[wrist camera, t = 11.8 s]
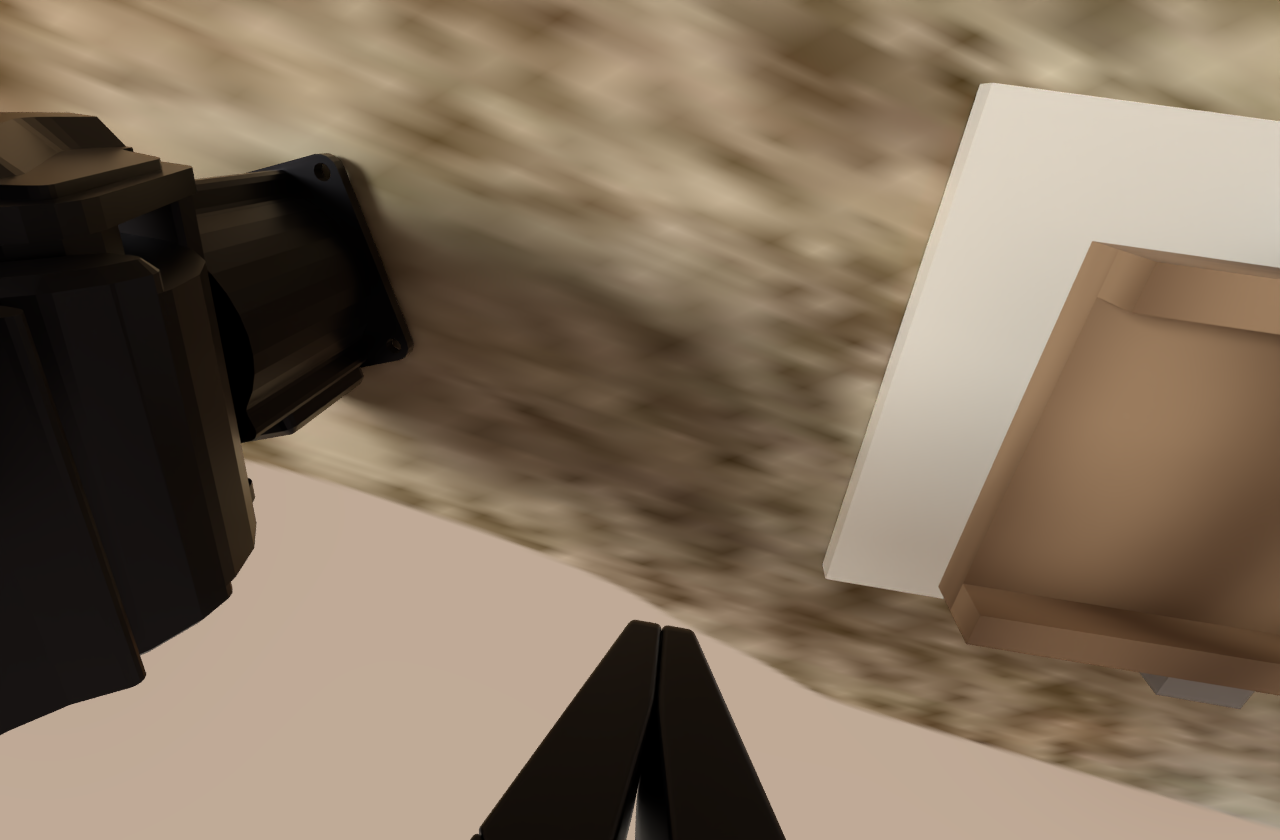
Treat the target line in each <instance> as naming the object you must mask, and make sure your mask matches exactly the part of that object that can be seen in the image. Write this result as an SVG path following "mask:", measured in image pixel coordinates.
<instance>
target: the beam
mask: <svg viewBox="0 0 1280 840" xmlns="http://www.w3.org/2000/svg"><path fill="white" fill-rule="evenodd" d="M938 587H939V589H940V591H941V593H942V595H943V598H944V600H945V602H946V604H947V606H948V608H949V610H950V612H951V614H952V616H953V618H954V620H955V622H956V624H957V626H958V628H959V630H960V632H961V634H962V636H963V638H964V640H965V642H966V644H970V645H976V646H982V647H988V648H995V649H1001V650H1007V651H1013V652H1019V653H1025V654H1031V655H1037V656H1043V657H1049V658H1055V659H1061V660H1068V661H1074V662H1080V663H1086V664H1092V665H1098V666H1104V667H1110V668H1116V669H1122V670H1128V671H1134V672H1141V673H1147V674H1153V675H1159V676H1165V677H1171V678H1177V679H1183V680H1189V681H1195V682H1201V683H1207V684H1214V685H1220V686H1226V687H1232V688H1238V689H1244V690H1250V691H1256V692H1262V693H1268V694H1274V695H1280V268H1278V267H1271V266H1264V265H1257V264H1250V263H1243V262H1236V261H1229V260H1222V259H1215V258H1208V257H1201V256H1194V255H1187V254H1180V253H1173V252H1166V251H1159V250H1152V249H1145V248H1138V247H1131V246H1124V245H1117V244H1110V243H1103V242H1096V241H1092V243H1091V245H1090V247H1089V249H1088V252H1087V254H1086V256H1085V258H1084V261H1083V263H1082V265H1081V267H1080V270H1079V272H1078V274H1077V276H1076V279H1075V281H1074V283H1073V285H1072V287H1071V290H1070V292H1069V294H1068V296H1067V299H1066V301H1065V303H1064V305H1063V308H1062V310H1061V312H1060V314H1059V317H1058V319H1057V321H1056V323H1055V326H1054V328H1053V330H1052V332H1051V335H1050V337H1049V339H1048V341H1047V344H1046V346H1045V348H1044V350H1043V353H1042V355H1041V357H1040V359H1039V362H1038V364H1037V366H1036V368H1035V371H1034V373H1033V375H1032V377H1031V379H1030V382H1029V384H1028V386H1027V388H1026V391H1025V393H1024V395H1023V397H1022V400H1021V402H1020V404H1019V406H1018V409H1017V411H1016V413H1015V415H1014V418H1013V420H1012V422H1011V424H1010V427H1009V429H1008V431H1007V433H1006V436H1005V438H1004V440H1003V442H1002V445H1001V447H1000V449H999V451H998V454H997V456H996V458H995V460H994V462H993V465H992V467H991V469H990V471H989V474H988V476H987V478H986V480H985V483H984V485H983V487H982V489H981V492H980V494H979V496H978V498H977V501H976V503H975V505H974V507H973V510H972V512H971V514H970V516H969V519H968V521H967V523H966V525H965V528H964V530H963V532H962V534H961V537H960V539H959V541H958V543H957V546H956V548H955V550H954V552H953V554H952V557H951V559H950V561H949V563H948V566H947V568H946V570H945V572H944V575H943V577H942V579H941V581H940V584H939V586H938Z"/></svg>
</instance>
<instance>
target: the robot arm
mask: <svg viewBox="0 0 1280 840" xmlns="http://www.w3.org/2000/svg"><path fill="white" fill-rule="evenodd" d="M323 164H325V165H327V167H328V168H329V170H330V174H331V176H330V179H329V180H328V179H327V178H325V176H324V175H323V173H322V169H321V168H322V165H323ZM392 339H395V340H397V341H398V342H399V343H400V344H401V349H397V348H396V347H394V345H393V344H392ZM412 350H413V340H412V337H411V334H410V332H409V329H408V327H407V324H406V322H405V319H404V317H403V314H402V312H401V309H400V307H399V304H398V302H397V299H396V297H395V294H394V292H393V289H392V287H391V284H390V281H389V279H388V276H387V274H386V271H385V269H384V266H383V264H382V261H381V259H380V256H379V254H378V251H377V249H376V246H375V244H374V241H373V239H372V236H371V233H370V231H369V228H368V226H367V223H366V221H365V218H364V216H363V213H362V211H361V208H360V206H359V203H358V201H357V198H356V196H355V193H354V191H353V188H352V185H351V183H350V180H349V178H348V175H347V173H346V170H345V168H344V166H343V164H342V163H341V161H340V160H339V159H338V158H337V157H336V156H334V155H332V154H329V153H324V154H314V155H310V156H307V157H303V158H299V159H296V160H292V161H288V162H285V163H281V164H277V165H274V166H270V167H266V168H263V169H259V170H255V171H252V172H248V173H244V174H236V175H227V176H219V177H210V178H202V179H194V174H193V168H192V167H191V166H188V165H181V164H174V163H168V162H161V160H160V158H159V157H155V156H150V155H145V154H140V153H136V152H133V148H132V147H126V146H125V145H124V144H123V143H122V142H121V141H120V140H119V139H118V138H117V137H116V136H115V135H114V134H113V133H112V132H111V131H110V130H109V129H108V128H107V127H106V126H105V125H104V124H103V123H102V122H101V121H100V120H99V119H98V118H97V117H95V116H88V115H82V114H75V113H43V112H0V735H1V734H3V733H5V732H7V731H9V730H12V729H14V728H16V727H18V726H21V725H23V724H26V723H28V722H30V721H33V720H35V719H38V718H40V717H42V716H45V715H47V714H49V713H52V712H54V711H56V710H59V709H61V708H64V707H66V706H68V705H71V704H74V703H78V702H81V701H85V700H89V699H92V698H96V697H99V696H103V695H106V694H110V693H113V692H117V691H120V690H124V689H127V688H131V687H133V686H136V685H137V684H139V683H141V682H142V681H143V680H144V678H145V676H146V672H145V669H144V666H143V663H142V660H141V657H140V655H142V654H145V653H147V652H149V651H151V650H153V649H154V648H156V647H158V646H160V645H161V644H163V643H165V642H166V641H168V640H170V639H172V638H173V637H175V636H177V635H178V634H180V633H182V632H183V631H185V630H187V629H189V628H190V627H192V626H194V625H195V624H197V623H199V622H200V621H201V620H203V619H204V618H205V617H206V616H208V615H209V614H210V613H211V612H212V611H214V610H215V609H216V608H217V607H218V606H220V605H221V604H222V603H223V602H225V601H226V600H227V599H228V598H229V597H230V595H231V594H232V584H231V581H232V580H233V579H234V578H235V577H236V575H237V574H238V572H239V571H240V569H241V568H242V566H243V564H244V563H245V561H246V560H247V558H248V556H249V555H250V554H251V552H252V550H253V549H254V544H255V533H256V519H255V514H254V508H253V501H254V499H255V494H254V489H253V484H252V480H251V479H249V478H248V477H247V472H246V467H245V462H244V457H243V452H242V446H241V443H244V442H249V441H255V440H261V439H267V438H273V437H278V436H284V435H290V434H293V433H295V432H296V431H298V430H299V429H300V428H302V427H303V426H304V425H306V424H307V423H308V422H310V421H311V420H312V419H314V418H315V417H316V416H318V415H319V414H320V413H322V412H323V411H324V410H326V409H327V408H328V407H330V406H331V405H332V404H334V403H335V402H336V401H338V400H339V399H340V398H342V397H343V396H344V395H346V394H347V393H348V392H350V391H351V390H352V389H354V388H355V387H356V386H358V385H359V384H360V383H361V381H362V379H363V377H364V375H363V373H362V371H361V368H360V367H366V366H371V365H376V364H381V363H386V362H391V361H397V360H400V359H403V358H405V357H406V356H407V355H409V354H410V352H411V351H412ZM637 789H638V793H637ZM636 794H637V804H636V805H637V806H636V828H635V831H636V832H635V840H786V839H785V836H784V834H783V832H782V830H781V827H780V825H779V823H778V821H777V818H776V816H775V814H774V812H773V809H772V807H771V805H770V803H769V800H768V798H767V796H766V793H765V791H764V789H763V787H762V785H761V782H760V780H759V778H758V776H757V773H756V771H755V769H754V767H753V764H752V762H751V760H750V757H749V755H748V753H747V751H746V748H745V746H744V744H743V742H742V739H741V737H740V735H739V733H738V730H737V728H736V726H735V723H734V721H733V719H732V717H731V714H730V712H729V710H728V708H727V705H726V703H725V701H724V699H723V696H722V694H721V692H720V690H719V687H718V685H717V683H716V681H715V678H714V676H713V674H712V672H711V669H710V667H709V665H708V663H707V660H706V658H705V656H704V654H703V651H702V649H701V647H700V644H699V642H698V640H697V638H696V636H695V634H694V632H693V631H691V630H690V629H685V628H678V627H673V626H664V627H663V628H662V630H661V627H660V625H659V624H656V623H651V622H644V621H639V620H632V621H631V622H630V623H629V624H628V625H627V626H626V627H625V629H624V630H623V632H622V633H621V634H620V636H619V637H618V639H617V640H616V641H615V643H614V644H613V645H612V647H611V648H610V650H609V651H608V652H607V654H606V655H605V656H604V658H603V659H602V660H601V662H600V663H599V665H598V666H597V667H596V669H595V670H594V671H593V673H592V674H591V675H590V677H589V678H588V680H587V681H586V682H585V684H584V685H583V687H582V688H581V689H580V691H579V692H578V693H577V695H576V696H575V697H574V699H573V700H572V702H571V703H570V704H569V706H568V707H567V708H566V710H565V711H564V713H563V714H562V715H561V717H560V718H559V719H558V721H557V722H556V724H555V725H554V726H553V728H552V729H551V730H550V732H549V733H548V734H547V736H546V737H545V739H544V740H543V741H542V743H541V744H540V745H539V747H538V748H537V750H536V751H535V752H534V754H533V755H532V756H531V758H530V759H529V761H528V762H527V763H526V765H525V766H524V767H523V769H522V770H521V772H520V773H519V774H518V776H517V777H516V778H515V780H514V781H513V782H512V784H511V785H510V787H509V788H508V790H507V791H506V792H505V793H504V795H503V796H502V798H501V799H500V800H499V802H498V803H497V804H496V806H495V807H494V809H493V810H492V812H491V813H490V814H489V815H488V817H487V818H486V820H485V821H484V822H483V824H482V825H481V826H480V828H479V834H475V835H474V836H473V837H472V838H471V840H626V838H627V834H628V830H629V826H630V822H631V818H632V813H633V809H634V804H635V799H636Z"/></svg>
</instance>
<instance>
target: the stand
mask: <svg viewBox="0 0 1280 840" xmlns="http://www.w3.org/2000/svg"><path fill="white" fill-rule="evenodd" d="M1092 241H1096V242H1103V243H1110V244H1117V245H1124V246H1131V247H1138V248H1145V249H1152V250H1159V251H1166V252H1173V253H1180V254H1187V255H1194V256H1201V257H1208V258H1215V259H1222V260H1229V261H1236V262H1243V263H1250V264H1257V265H1264V266H1271V267H1278V268H1280V121H1273V120H1266V119H1258V118H1251V117H1243V116H1236V115H1229V114H1221V113H1214V112H1206V111H1199V110H1191V109H1184V108H1176V107H1169V106H1162V105H1154V104H1147V103H1139V102H1132V101H1124V100H1117V99H1110V98H1102V97H1095V96H1087V95H1080V94H1072V93H1065V92H1057V91H1050V90H1043V89H1035V88H1028V87H1020V86H1013V85H1005V84H998V83H987V84H980V86H979V89H978V92H977V95H976V98H975V101H974V104H973V107H972V110H971V113H970V116H969V119H968V122H967V126H966V129H965V132H964V135H963V138H962V141H961V144H960V147H959V150H958V153H957V156H956V159H955V162H954V165H953V168H952V171H951V174H950V177H949V180H948V183H947V186H946V189H945V193H944V196H943V199H942V202H941V205H940V208H939V211H938V214H937V217H936V220H935V223H934V226H933V229H932V232H931V235H930V238H929V241H928V244H927V247H926V250H925V253H924V256H923V260H922V263H921V266H920V269H919V272H918V275H917V278H916V281H915V284H914V287H913V290H912V293H911V296H910V299H909V302H908V305H907V308H906V311H905V314H904V317H903V320H902V323H901V327H900V330H899V333H898V336H897V339H896V342H895V345H894V348H893V351H892V354H891V357H890V360H889V363H888V366H887V369H886V372H885V375H884V378H883V381H882V384H881V387H880V390H879V394H878V397H877V400H876V403H875V406H874V409H873V412H872V415H871V418H870V421H869V424H868V427H867V430H866V433H865V436H864V439H863V442H862V445H861V448H860V451H859V454H858V457H857V461H856V464H855V467H854V470H853V473H852V476H851V479H850V482H849V485H848V488H847V491H846V494H845V497H844V500H843V503H842V506H841V509H840V512H839V515H838V518H837V521H836V524H835V528H834V531H833V534H832V537H831V540H830V543H829V546H828V549H827V552H826V555H825V558H824V561H823V564H822V565H823V570H824V574H825V578H826V579H829V580H835V581H841V582H847V583H853V584H859V585H865V586H871V587H877V588H883V589H888V590H894V591H900V592H906V593H912V594H918V595H924V596H930V597H936V598H941V599H944V598H943V595H942V593H941V591H940V589H939V587H938V586H939V584H940V581H941V579H942V577H943V575H944V572H945V570H946V568H947V566H948V563H949V561H950V559H951V557H952V554H953V552H954V550H955V548H956V546H957V543H958V541H959V539H960V537H961V534H962V532H963V530H964V528H965V525H966V523H967V521H968V519H969V516H970V514H971V512H972V510H973V507H974V505H975V503H976V501H977V498H978V496H979V494H980V492H981V489H982V487H983V485H984V483H985V480H986V478H987V476H988V474H989V471H990V469H991V467H992V465H993V462H994V460H995V458H996V456H997V454H998V451H999V449H1000V447H1001V445H1002V442H1003V440H1004V438H1005V436H1006V433H1007V431H1008V429H1009V427H1010V424H1011V422H1012V420H1013V418H1014V415H1015V413H1016V411H1017V409H1018V406H1019V404H1020V402H1021V400H1022V397H1023V395H1024V393H1025V391H1026V388H1027V386H1028V384H1029V382H1030V379H1031V377H1032V375H1033V373H1034V371H1035V368H1036V366H1037V364H1038V362H1039V359H1040V357H1041V355H1042V353H1043V350H1044V348H1045V346H1046V344H1047V341H1048V339H1049V337H1050V335H1051V332H1052V330H1053V328H1054V326H1055V323H1056V321H1057V319H1058V317H1059V314H1060V312H1061V310H1062V308H1063V305H1064V303H1065V301H1066V299H1067V296H1068V294H1069V292H1070V290H1071V287H1072V285H1073V283H1074V281H1075V279H1076V276H1077V274H1078V272H1079V270H1080V267H1081V265H1082V263H1083V261H1084V258H1085V256H1086V254H1087V252H1088V249H1089V247H1090V245H1091V243H1092ZM1139 673H1140V674H1141V675H1142V677H1143V678H1144V679H1145V681H1146V682H1147V683H1148V685H1149V686H1150V687H1151V689H1152V690H1153V691H1154V692H1155V694H1156V695H1162V696H1168V697H1173V698H1179V699H1185V700H1191V701H1196V702H1202V703H1208V704H1214V705H1220V706H1225V707H1231V708H1237V709H1241V707H1242V706H1243V705H1244V704H1245V702H1246V701H1247V700H1248V699H1249V698H1250V696H1251V695H1252V694H1253V693H1254V692H1255V691H1250V690H1244V689H1238V688H1232V687H1226V686H1220V685H1214V684H1207V683H1201V682H1195V681H1189V680H1183V679H1177V678H1171V677H1165V676H1159V675H1153V674H1147V673H1141V672H1139Z"/></svg>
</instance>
